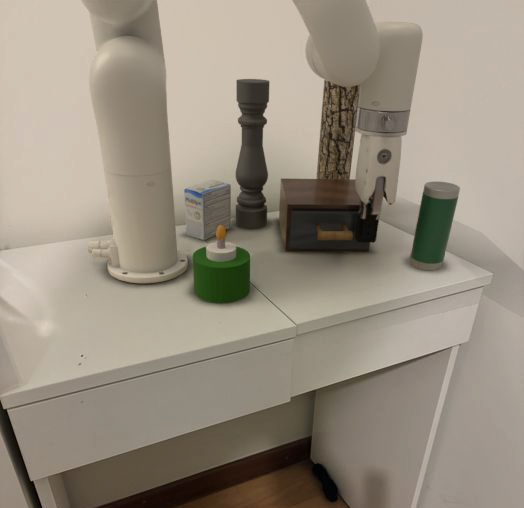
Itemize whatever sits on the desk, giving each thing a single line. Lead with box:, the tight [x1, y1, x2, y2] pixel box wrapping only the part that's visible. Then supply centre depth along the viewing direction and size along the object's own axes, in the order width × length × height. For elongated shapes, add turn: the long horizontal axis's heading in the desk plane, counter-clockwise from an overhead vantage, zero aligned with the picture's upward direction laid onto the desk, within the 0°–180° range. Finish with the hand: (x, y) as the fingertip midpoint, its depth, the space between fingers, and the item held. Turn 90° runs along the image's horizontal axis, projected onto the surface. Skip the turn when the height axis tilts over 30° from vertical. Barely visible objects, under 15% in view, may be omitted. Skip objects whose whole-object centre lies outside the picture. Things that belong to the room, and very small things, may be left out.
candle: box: [191, 225, 251, 304], centre depth 74 cm, size 8×8×10 cm
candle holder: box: [235, 78, 270, 230], centre depth 95 cm, size 6×6×25 cm
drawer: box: [289, 209, 369, 249], centre depth 91 cm, size 20×14×6 cm
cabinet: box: [278, 178, 371, 253], centre depth 95 cm, size 16×15×8 cm
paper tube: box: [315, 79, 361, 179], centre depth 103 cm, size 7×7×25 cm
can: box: [409, 181, 461, 271], centre depth 83 cm, size 5×5×13 cm
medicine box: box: [183, 179, 232, 241], centre depth 94 cm, size 8×4×9 cm, turn 144°
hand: (365, 240), depth 86 cm, fingers closed
